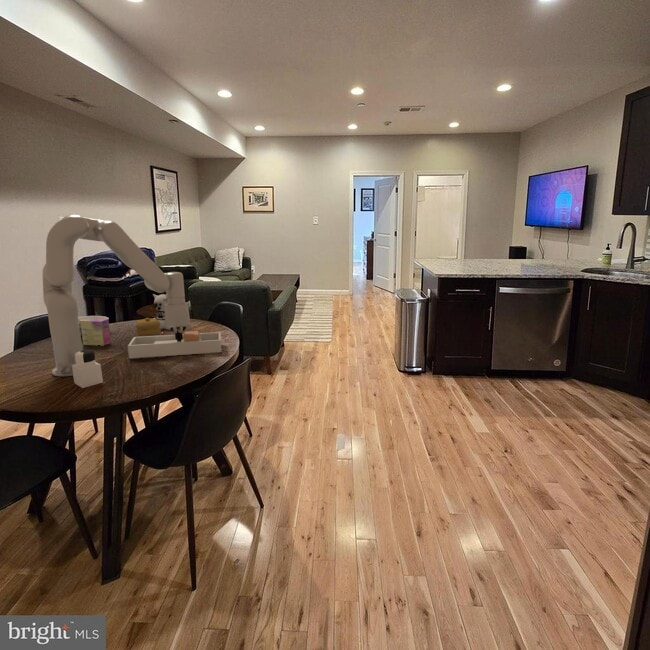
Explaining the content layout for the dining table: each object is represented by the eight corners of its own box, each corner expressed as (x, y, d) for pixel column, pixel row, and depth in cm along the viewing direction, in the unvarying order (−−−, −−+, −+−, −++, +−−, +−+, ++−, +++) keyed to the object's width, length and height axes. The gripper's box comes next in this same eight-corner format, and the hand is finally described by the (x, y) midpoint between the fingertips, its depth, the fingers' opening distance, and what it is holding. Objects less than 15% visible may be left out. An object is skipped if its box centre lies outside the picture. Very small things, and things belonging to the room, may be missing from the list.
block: (198, 343, 187) (198, 335, 186) (184, 344, 185) (183, 335, 184) (199, 339, 193) (198, 331, 192) (185, 340, 192) (184, 331, 191)
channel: (221, 353, 187) (220, 340, 185) (129, 359, 178) (127, 345, 176) (221, 344, 200) (220, 332, 198) (135, 349, 191) (133, 337, 189)
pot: (132, 340, 206) (130, 320, 203) (142, 334, 217) (140, 315, 214) (156, 340, 206) (154, 320, 203) (165, 334, 217) (163, 315, 215)
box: (111, 342, 202) (108, 318, 199) (104, 346, 196) (101, 321, 193) (91, 341, 203) (87, 318, 200) (83, 345, 197) (79, 320, 194)
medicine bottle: (94, 378, 157) (90, 347, 154) (103, 382, 153) (99, 351, 150) (74, 383, 152) (69, 351, 149) (82, 388, 147) (77, 356, 144)
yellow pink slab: (121, 333, 218) (119, 318, 216) (75, 344, 199) (72, 327, 197) (94, 326, 231) (92, 312, 229) (49, 335, 212) (47, 320, 210)
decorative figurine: (144, 329, 226) (140, 292, 221) (160, 323, 240) (157, 288, 235) (168, 331, 223) (165, 293, 218) (183, 324, 237) (181, 289, 232)
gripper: (156, 303, 178) (160, 344, 183) (193, 301, 182) (196, 342, 186) (158, 299, 185) (162, 339, 190) (194, 298, 189) (197, 337, 193)
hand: (179, 341), depth 188 cm, fingers closed
